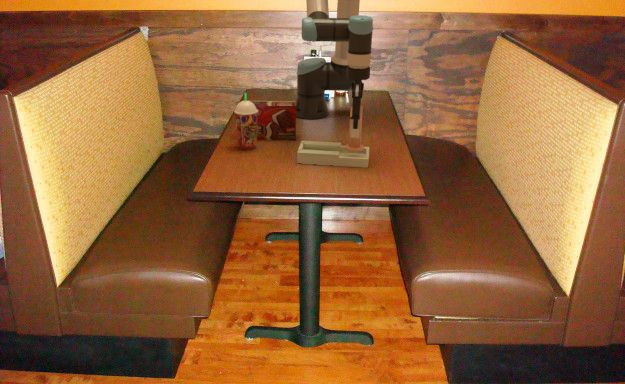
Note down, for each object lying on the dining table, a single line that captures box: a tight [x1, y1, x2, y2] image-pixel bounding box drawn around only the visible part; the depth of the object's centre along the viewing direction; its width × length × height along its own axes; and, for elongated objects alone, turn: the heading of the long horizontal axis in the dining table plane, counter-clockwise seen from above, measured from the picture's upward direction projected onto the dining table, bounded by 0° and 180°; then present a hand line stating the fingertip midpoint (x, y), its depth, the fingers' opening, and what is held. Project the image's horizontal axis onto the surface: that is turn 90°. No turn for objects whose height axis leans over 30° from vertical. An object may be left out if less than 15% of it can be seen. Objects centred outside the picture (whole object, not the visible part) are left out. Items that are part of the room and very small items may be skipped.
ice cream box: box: [249, 100, 297, 141], centre depth 219 cm, size 20×6×13 cm, turn 92°
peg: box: [344, 104, 365, 152], centre depth 196 cm, size 6×6×15 cm
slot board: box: [296, 140, 370, 169], centre depth 201 cm, size 12×24×4 cm, turn 84°
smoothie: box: [233, 92, 258, 151], centre depth 207 cm, size 8×8×20 cm
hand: (355, 134), depth 197 cm, fingers closed on peg, 4 cm apart
